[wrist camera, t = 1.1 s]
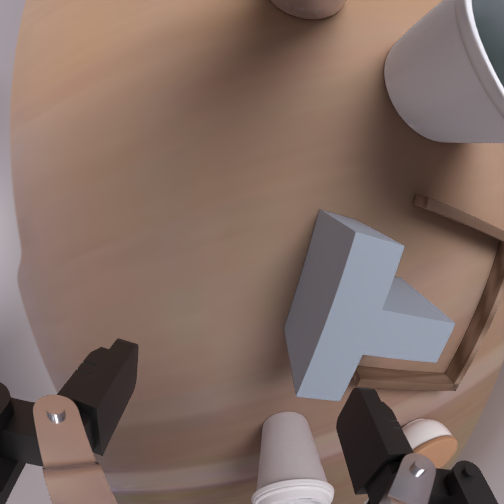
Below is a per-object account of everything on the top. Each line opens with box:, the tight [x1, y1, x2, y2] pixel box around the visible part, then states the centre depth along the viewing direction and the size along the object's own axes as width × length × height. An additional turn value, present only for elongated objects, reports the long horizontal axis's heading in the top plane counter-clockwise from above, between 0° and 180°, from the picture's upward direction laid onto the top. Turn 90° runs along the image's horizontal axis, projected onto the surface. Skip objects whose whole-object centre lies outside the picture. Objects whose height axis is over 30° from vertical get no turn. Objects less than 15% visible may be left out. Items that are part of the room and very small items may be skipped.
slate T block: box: [284, 210, 455, 401], centre depth 28 cm, size 14×12×12 cm
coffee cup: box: [251, 412, 334, 504], centre depth 32 cm, size 10×10×15 cm
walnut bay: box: [352, 195, 504, 391], centre depth 33 cm, size 23×18×3 cm
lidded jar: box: [402, 419, 457, 469], centre depth 36 cm, size 11×11×9 cm
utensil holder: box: [384, 0, 504, 143], centre depth 19 cm, size 15×15×18 cm
